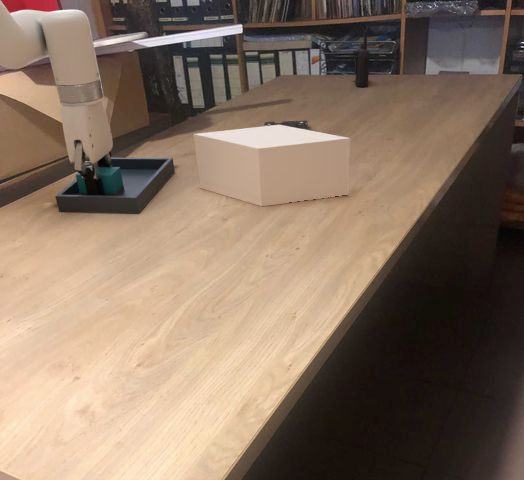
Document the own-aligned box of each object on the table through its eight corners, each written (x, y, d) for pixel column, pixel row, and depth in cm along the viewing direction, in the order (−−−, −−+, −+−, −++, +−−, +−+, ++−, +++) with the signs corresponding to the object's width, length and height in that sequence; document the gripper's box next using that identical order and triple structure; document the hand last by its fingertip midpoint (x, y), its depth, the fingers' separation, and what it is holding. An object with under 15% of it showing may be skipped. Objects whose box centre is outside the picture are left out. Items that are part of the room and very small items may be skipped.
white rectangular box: (342, 210, 103) (343, 151, 97) (186, 202, 110) (178, 146, 104) (354, 181, 114) (356, 126, 108) (212, 175, 121) (206, 123, 115)
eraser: (81, 198, 112) (75, 174, 110) (90, 189, 116) (85, 166, 113) (115, 198, 111) (111, 175, 108) (124, 190, 115) (120, 166, 112)
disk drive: (264, 134, 143) (262, 152, 131) (263, 121, 142) (261, 139, 130) (307, 132, 143) (309, 150, 131) (307, 119, 141) (309, 137, 129)
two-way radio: (369, 87, 176) (372, 30, 167) (354, 88, 176) (356, 31, 167) (364, 83, 181) (366, 27, 172) (350, 84, 180) (351, 29, 172)
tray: (139, 213, 107) (136, 197, 105) (59, 211, 110) (54, 196, 108) (174, 172, 124) (172, 157, 122) (104, 171, 127) (101, 157, 125)
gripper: (80, 81, 110) (101, 178, 121) (37, 105, 97) (65, 211, 107) (119, 81, 109) (136, 178, 120) (80, 104, 95) (103, 212, 106)
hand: (102, 193), depth 113 cm, fingers closed on eraser, 4 cm apart
